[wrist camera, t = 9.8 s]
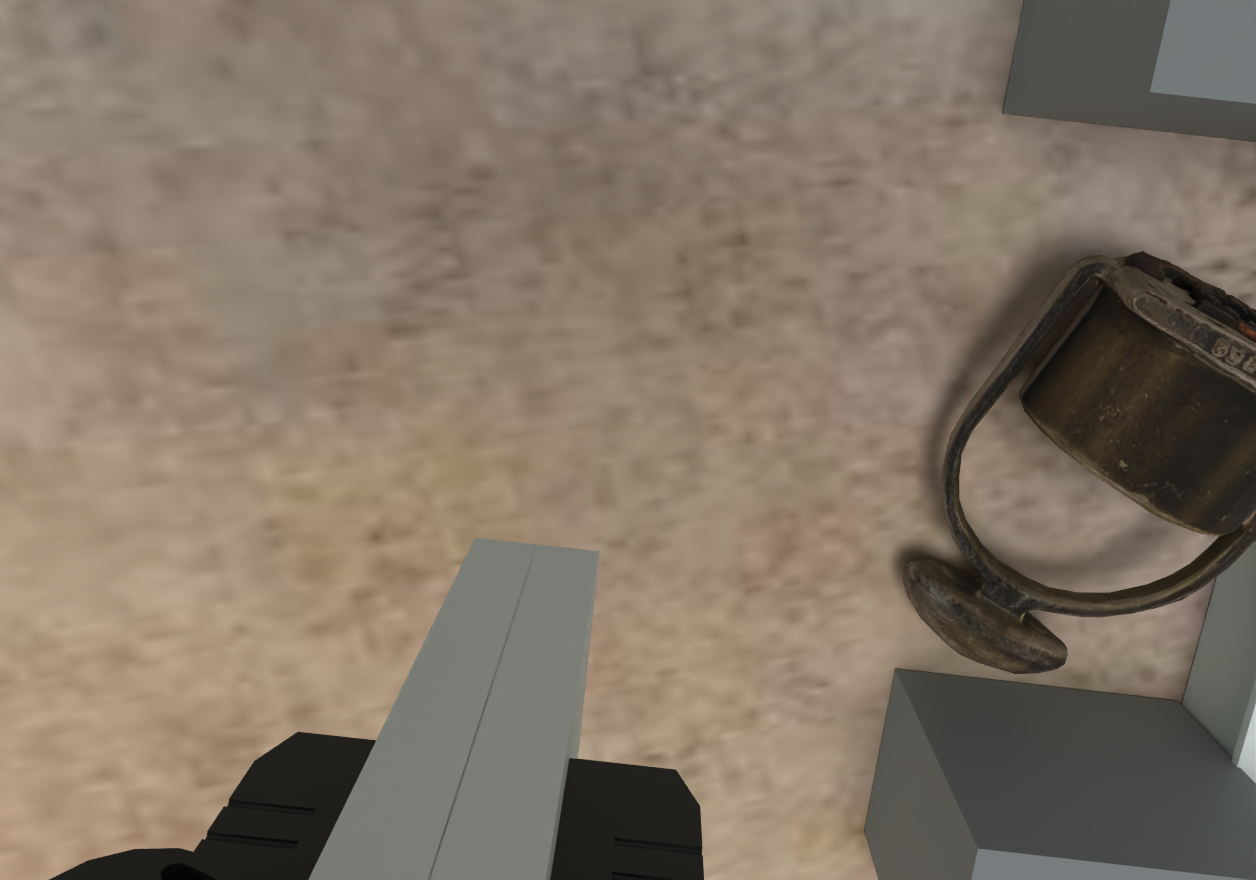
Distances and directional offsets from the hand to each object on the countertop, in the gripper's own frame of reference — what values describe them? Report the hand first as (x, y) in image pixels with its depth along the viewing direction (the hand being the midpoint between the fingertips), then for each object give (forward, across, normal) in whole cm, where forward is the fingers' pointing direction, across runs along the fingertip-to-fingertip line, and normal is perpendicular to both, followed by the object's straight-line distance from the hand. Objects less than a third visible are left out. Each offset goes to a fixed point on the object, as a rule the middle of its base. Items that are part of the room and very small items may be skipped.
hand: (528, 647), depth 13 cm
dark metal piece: (+18, +10, -1) cm, 21 cm away
